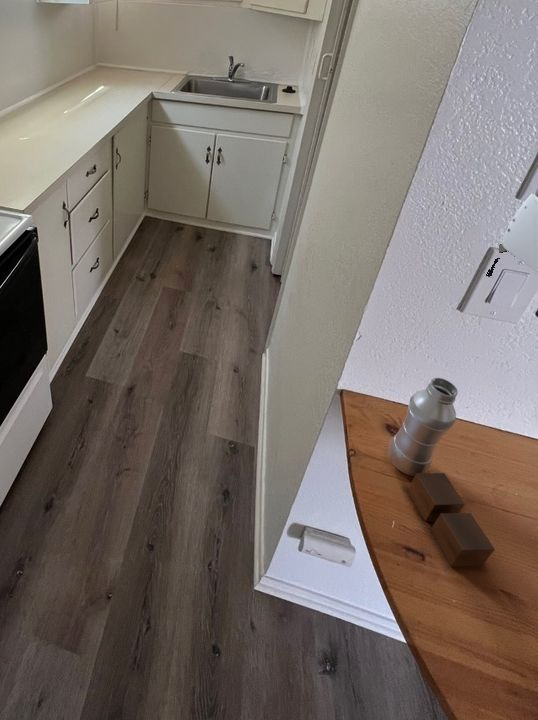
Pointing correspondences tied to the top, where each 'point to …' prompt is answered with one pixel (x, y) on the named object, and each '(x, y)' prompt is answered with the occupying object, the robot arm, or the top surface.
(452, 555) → the walnut block
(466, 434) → the top surface
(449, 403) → the silver bottle
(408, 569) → the top surface
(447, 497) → the walnut block
